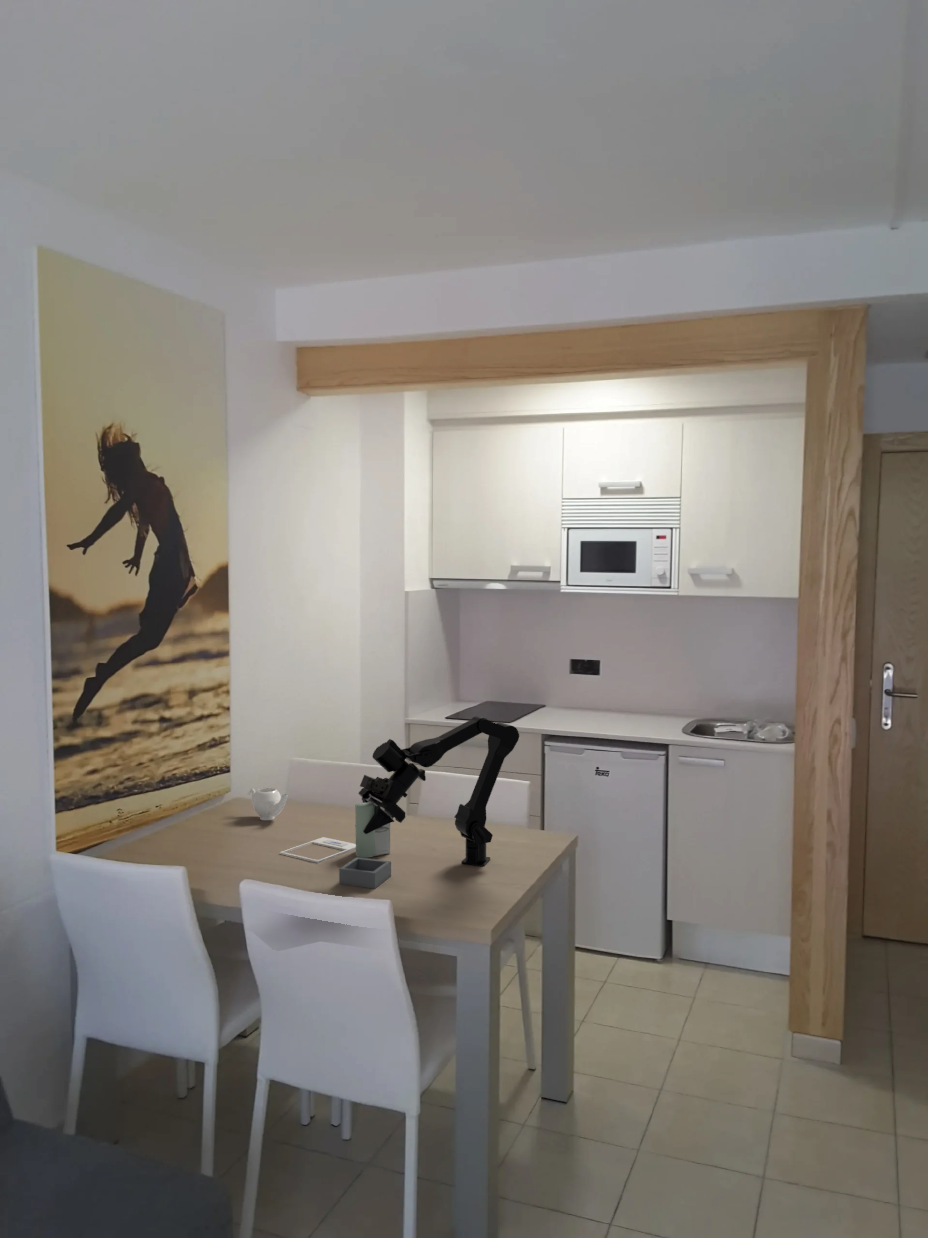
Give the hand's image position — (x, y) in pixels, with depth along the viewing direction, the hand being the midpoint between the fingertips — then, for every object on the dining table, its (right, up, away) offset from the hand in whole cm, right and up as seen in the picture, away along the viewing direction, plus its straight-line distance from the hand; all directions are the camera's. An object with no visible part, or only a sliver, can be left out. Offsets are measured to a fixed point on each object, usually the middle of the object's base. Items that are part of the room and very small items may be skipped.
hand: (360, 830), depth 249 cm
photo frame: (-14, -12, +27) cm, 33 cm away
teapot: (-36, -10, +60) cm, 71 cm away
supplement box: (+1, -12, +25) cm, 28 cm away
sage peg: (+1, -7, +1) cm, 7 cm away
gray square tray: (+1, -13, +2) cm, 13 cm away
